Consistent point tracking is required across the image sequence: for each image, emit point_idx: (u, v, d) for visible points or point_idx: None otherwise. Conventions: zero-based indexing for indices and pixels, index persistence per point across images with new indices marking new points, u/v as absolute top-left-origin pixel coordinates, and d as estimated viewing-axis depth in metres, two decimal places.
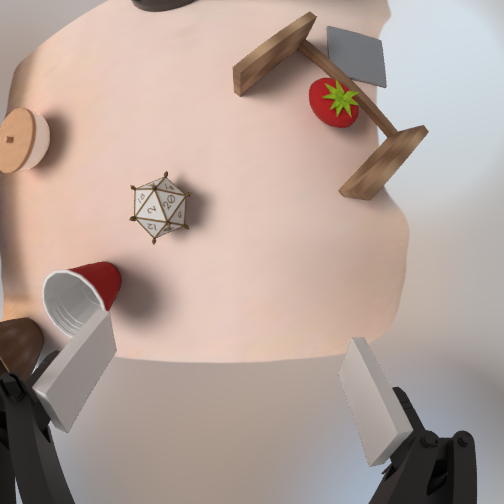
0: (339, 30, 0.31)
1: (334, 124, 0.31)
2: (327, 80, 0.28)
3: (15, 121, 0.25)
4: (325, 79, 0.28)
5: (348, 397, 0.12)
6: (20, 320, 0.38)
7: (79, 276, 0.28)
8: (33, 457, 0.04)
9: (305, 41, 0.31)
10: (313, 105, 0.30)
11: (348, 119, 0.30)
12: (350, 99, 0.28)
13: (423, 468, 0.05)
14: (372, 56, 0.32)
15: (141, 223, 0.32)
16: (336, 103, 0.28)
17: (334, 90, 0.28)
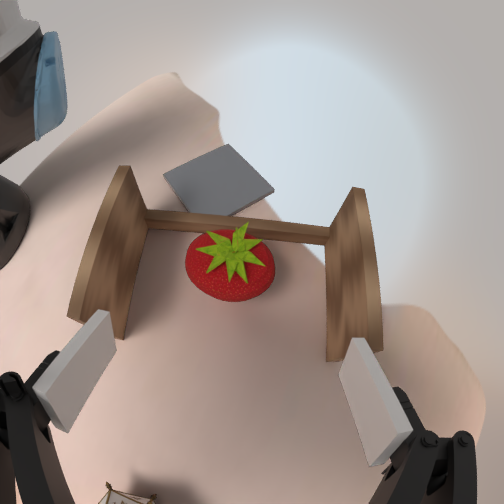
0: (178, 169, 0.33)
1: (253, 294, 0.21)
2: (198, 241, 0.21)
3: None
4: (195, 242, 0.22)
5: (348, 397, 0.12)
6: None
7: None
8: (33, 457, 0.04)
9: (148, 212, 0.28)
10: (207, 292, 0.21)
11: (265, 272, 0.21)
12: (245, 242, 0.21)
13: (423, 468, 0.05)
14: (232, 168, 0.33)
15: None
16: (231, 265, 0.19)
17: (215, 249, 0.20)
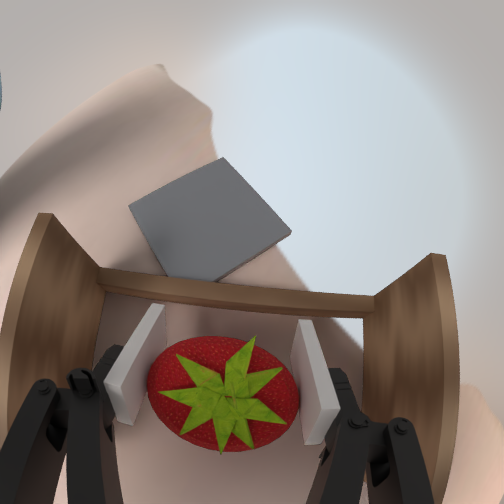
0: (149, 197, 0.22)
1: None
2: (163, 365, 0.11)
3: None
4: (159, 364, 0.11)
5: (294, 377, 0.13)
6: None
7: None
8: (93, 458, 0.05)
9: (101, 271, 0.18)
10: None
11: (285, 420, 0.10)
12: (249, 380, 0.10)
13: (357, 451, 0.07)
14: (228, 196, 0.23)
15: None
16: (224, 426, 0.09)
17: (193, 394, 0.09)
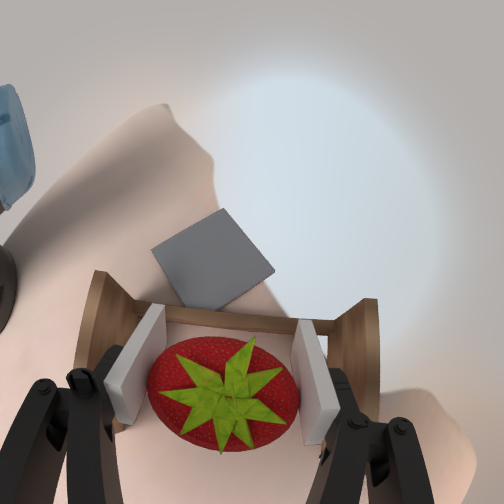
0: (167, 243, 0.30)
1: None
2: (164, 365, 0.11)
3: None
4: (159, 364, 0.11)
5: (294, 377, 0.13)
6: None
7: None
8: (93, 458, 0.05)
9: (136, 303, 0.25)
10: None
11: (284, 420, 0.10)
12: (248, 381, 0.10)
13: (357, 451, 0.07)
14: (228, 243, 0.31)
15: None
16: (224, 426, 0.09)
17: (193, 395, 0.09)
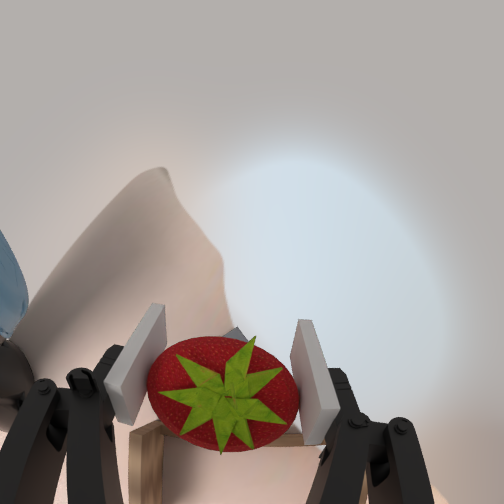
0: None
1: None
2: (163, 365, 0.11)
3: None
4: (159, 364, 0.11)
5: (294, 377, 0.13)
6: None
7: None
8: (93, 458, 0.05)
9: (163, 427, 0.24)
10: None
11: (285, 421, 0.10)
12: (249, 381, 0.10)
13: (357, 451, 0.07)
14: None
15: None
16: (224, 426, 0.09)
17: (193, 395, 0.09)
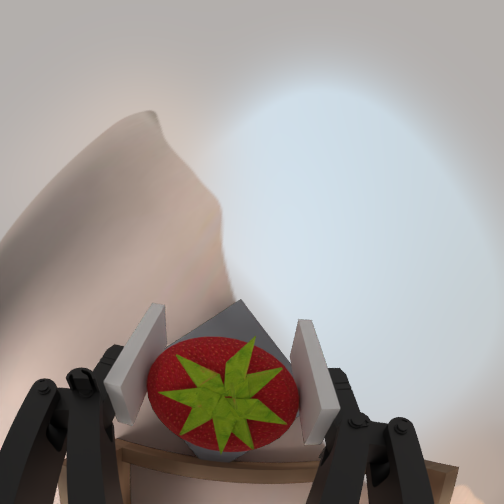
0: None
1: None
2: (163, 366, 0.11)
3: None
4: (159, 364, 0.11)
5: (294, 377, 0.13)
6: None
7: None
8: (93, 458, 0.05)
9: (125, 451, 0.14)
10: None
11: (285, 421, 0.10)
12: (249, 381, 0.10)
13: (357, 451, 0.07)
14: None
15: None
16: (224, 426, 0.09)
17: (193, 395, 0.09)
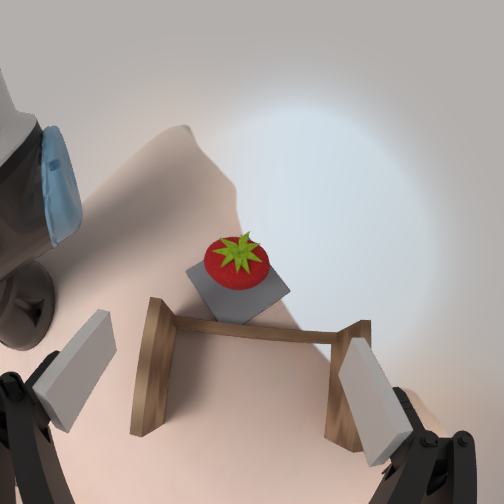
0: (199, 266, 0.36)
1: (254, 283, 0.29)
2: (213, 246, 0.30)
3: None
4: (211, 246, 0.30)
5: (348, 397, 0.12)
6: None
7: None
8: (33, 457, 0.04)
9: (176, 318, 0.31)
10: (221, 282, 0.29)
11: (262, 266, 0.29)
12: (247, 245, 0.29)
13: (423, 468, 0.05)
14: None
15: None
16: (238, 261, 0.28)
17: (226, 250, 0.29)
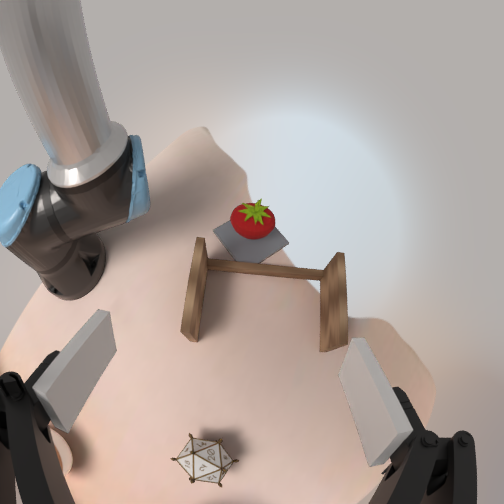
0: (223, 226, 0.51)
1: (265, 232, 0.44)
2: (237, 208, 0.44)
3: None
4: (235, 209, 0.44)
5: (348, 397, 0.12)
6: None
7: None
8: (33, 457, 0.04)
9: (209, 260, 0.46)
10: (243, 232, 0.44)
11: (271, 221, 0.44)
12: (261, 207, 0.43)
13: (423, 468, 0.05)
14: None
15: (201, 480, 0.26)
16: (255, 217, 0.42)
17: (247, 210, 0.43)
